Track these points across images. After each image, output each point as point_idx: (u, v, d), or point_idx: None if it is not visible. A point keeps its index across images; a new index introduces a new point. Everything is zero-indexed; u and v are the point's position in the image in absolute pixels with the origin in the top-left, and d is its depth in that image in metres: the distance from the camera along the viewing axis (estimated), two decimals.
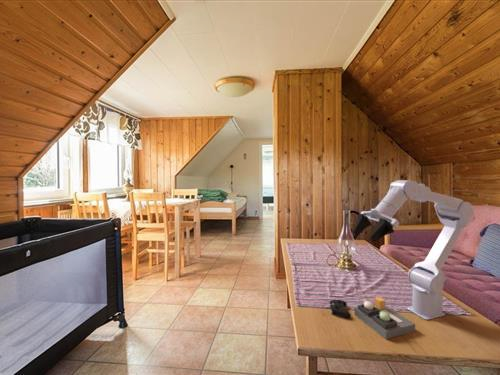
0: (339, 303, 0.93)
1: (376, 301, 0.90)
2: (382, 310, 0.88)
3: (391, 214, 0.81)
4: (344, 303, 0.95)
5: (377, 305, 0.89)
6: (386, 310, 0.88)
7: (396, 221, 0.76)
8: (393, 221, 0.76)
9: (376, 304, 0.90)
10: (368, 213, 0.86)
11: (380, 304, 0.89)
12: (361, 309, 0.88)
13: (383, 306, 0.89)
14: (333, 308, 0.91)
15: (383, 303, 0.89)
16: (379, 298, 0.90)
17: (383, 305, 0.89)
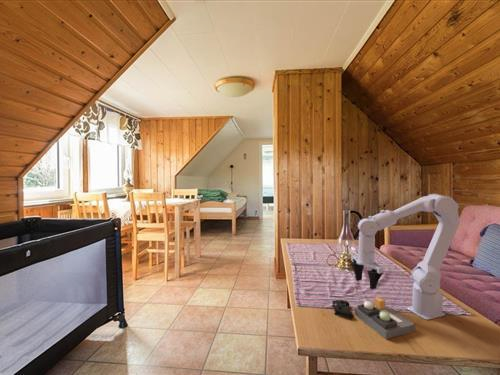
0: (342, 303, 0.93)
1: (376, 301, 0.90)
2: (382, 310, 0.88)
3: (372, 257, 0.93)
4: (347, 303, 0.95)
5: (377, 305, 0.89)
6: (386, 310, 0.88)
7: (380, 269, 0.89)
8: (378, 270, 0.89)
9: (376, 304, 0.90)
10: None
11: (380, 304, 0.89)
12: (361, 309, 0.88)
13: (383, 306, 0.89)
14: (336, 308, 0.90)
15: (383, 303, 0.89)
16: (379, 298, 0.90)
17: (383, 305, 0.89)
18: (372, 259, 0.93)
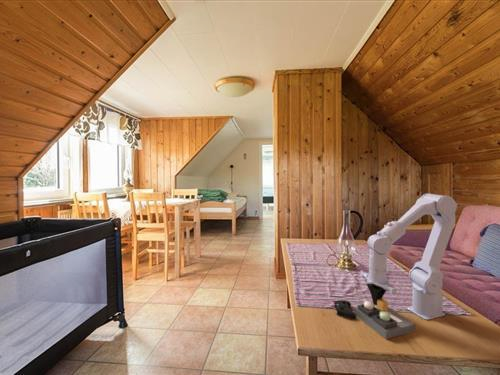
0: (344, 304, 0.93)
1: (379, 303, 0.89)
2: None
3: (384, 276, 0.88)
4: (348, 303, 0.95)
5: (380, 307, 0.88)
6: (386, 310, 0.88)
7: (392, 290, 0.84)
8: (390, 291, 0.84)
9: (379, 306, 0.89)
10: None
11: (383, 306, 0.87)
12: (361, 309, 0.88)
13: (386, 308, 0.88)
14: (338, 309, 0.90)
15: (385, 305, 0.88)
16: (382, 300, 0.89)
17: (386, 307, 0.88)
18: (384, 278, 0.88)
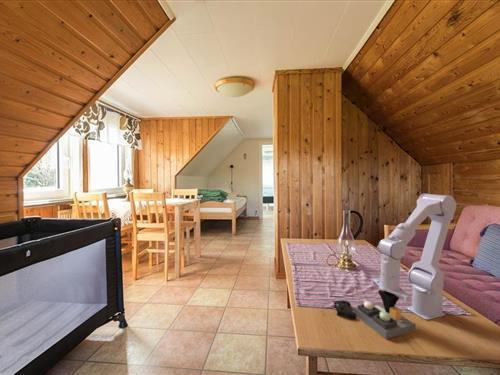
0: (344, 304, 0.93)
1: (391, 311, 0.84)
2: (382, 310, 0.88)
3: (397, 283, 0.83)
4: (348, 304, 0.95)
5: (392, 315, 0.83)
6: None
7: (407, 298, 0.79)
8: (404, 299, 0.79)
9: (391, 314, 0.84)
10: None
11: (396, 314, 0.82)
12: (361, 309, 0.88)
13: (399, 316, 0.83)
14: (338, 309, 0.90)
15: (399, 313, 0.83)
16: (394, 307, 0.84)
17: (399, 315, 0.83)
18: (397, 285, 0.83)
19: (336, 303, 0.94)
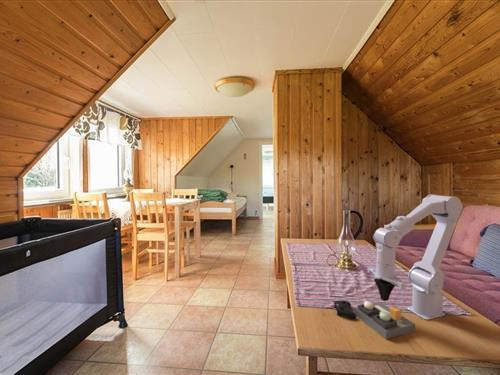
0: (344, 304, 0.93)
1: (391, 311, 0.84)
2: (382, 310, 0.88)
3: (393, 271, 0.85)
4: (348, 304, 0.95)
5: (392, 315, 0.83)
6: (386, 310, 0.88)
7: (402, 285, 0.80)
8: (399, 286, 0.81)
9: (391, 314, 0.84)
10: None
11: (396, 314, 0.82)
12: (361, 309, 0.88)
13: (399, 316, 0.83)
14: (338, 309, 0.90)
15: (399, 313, 0.83)
16: (394, 307, 0.84)
17: (399, 315, 0.83)
18: (392, 273, 0.85)
19: (336, 303, 0.94)
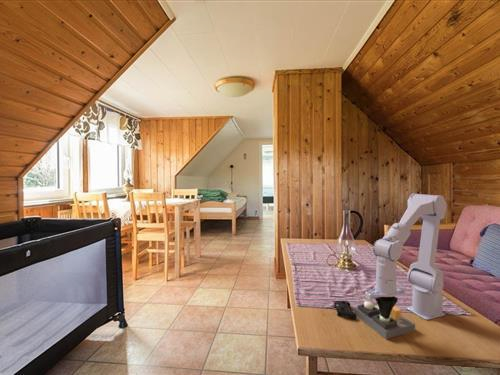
0: (344, 304, 0.92)
1: (391, 311, 0.84)
2: None
3: (380, 285, 0.79)
4: (348, 304, 0.95)
5: (392, 315, 0.83)
6: None
7: (366, 294, 0.79)
8: None
9: (391, 314, 0.84)
10: None
11: (396, 314, 0.82)
12: (361, 309, 0.88)
13: (399, 316, 0.83)
14: (338, 309, 0.90)
15: (399, 313, 0.83)
16: (394, 307, 0.84)
17: (399, 315, 0.83)
18: (379, 286, 0.79)
19: (336, 303, 0.93)
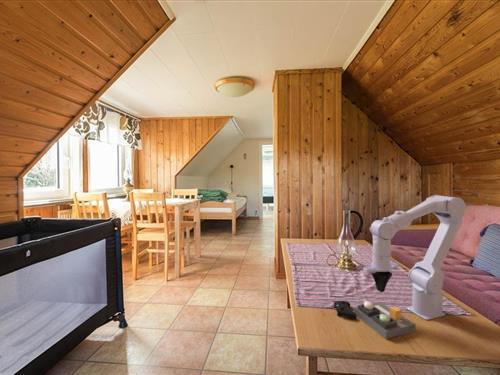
0: (344, 304, 0.92)
1: (391, 311, 0.84)
2: (382, 310, 0.88)
3: (376, 261, 0.87)
4: (348, 304, 0.95)
5: (392, 315, 0.83)
6: (386, 310, 0.88)
7: (363, 269, 0.87)
8: None
9: (391, 314, 0.84)
10: None
11: (396, 314, 0.82)
12: (361, 309, 0.88)
13: (399, 316, 0.83)
14: (338, 309, 0.90)
15: (399, 313, 0.83)
16: (394, 307, 0.84)
17: (399, 315, 0.83)
18: (375, 262, 0.88)
19: (336, 303, 0.93)
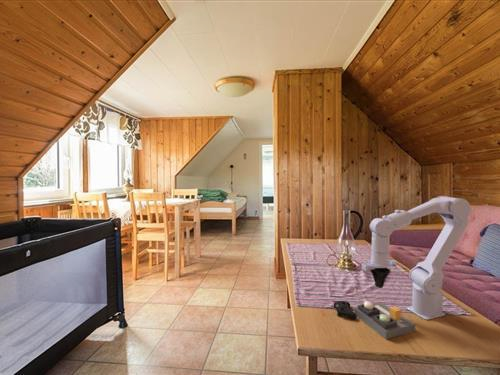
0: (344, 304, 0.92)
1: (391, 311, 0.84)
2: (382, 310, 0.88)
3: (374, 258, 0.90)
4: (348, 304, 0.95)
5: (392, 315, 0.83)
6: (386, 310, 0.88)
7: (362, 266, 0.90)
8: None
9: (391, 314, 0.84)
10: None
11: (396, 314, 0.82)
12: (361, 309, 0.88)
13: (399, 316, 0.83)
14: (339, 310, 0.90)
15: (399, 313, 0.83)
16: (394, 307, 0.84)
17: (399, 315, 0.83)
18: (374, 259, 0.90)
19: (336, 304, 0.93)
